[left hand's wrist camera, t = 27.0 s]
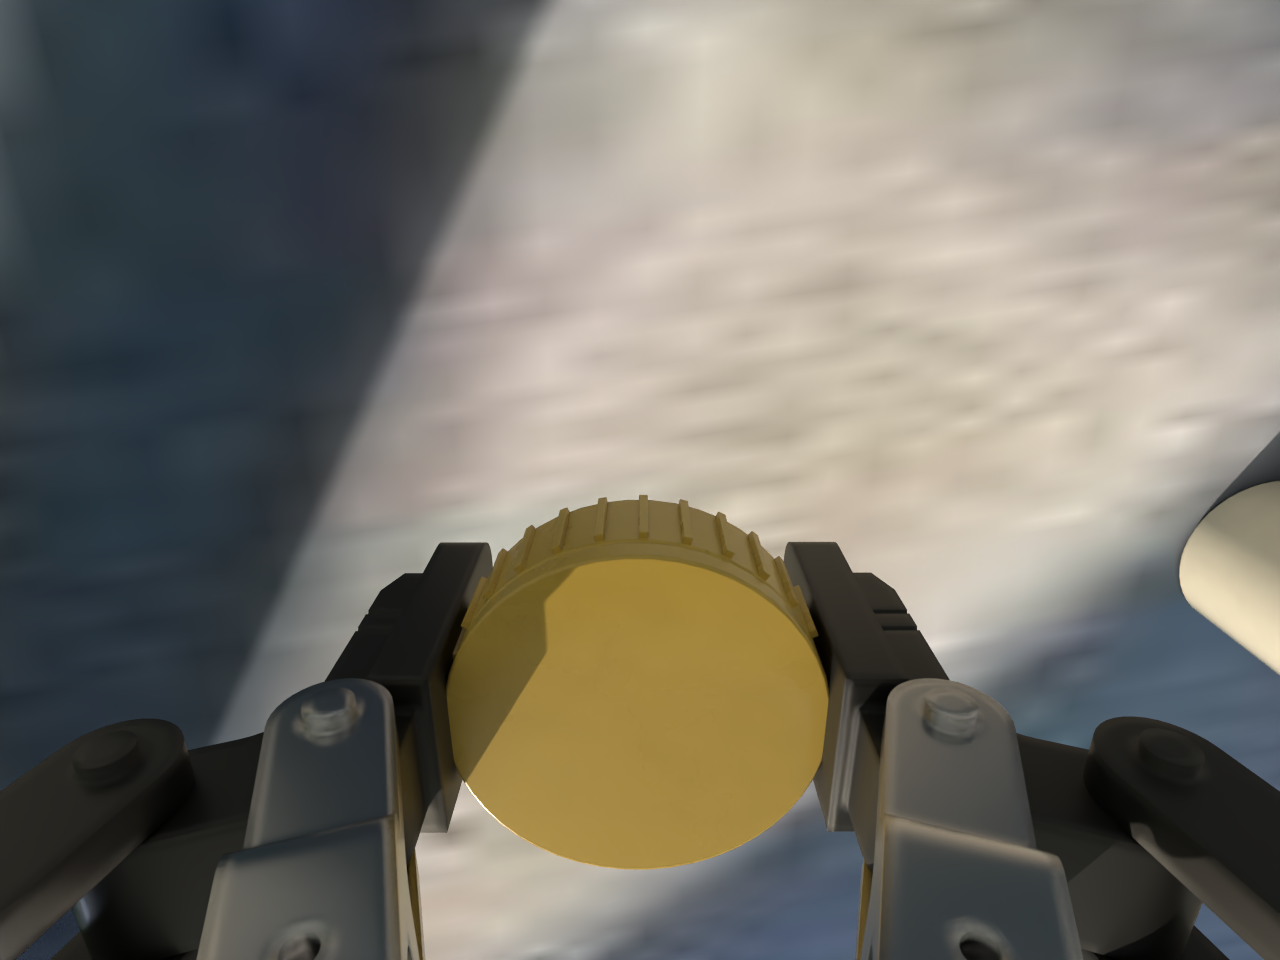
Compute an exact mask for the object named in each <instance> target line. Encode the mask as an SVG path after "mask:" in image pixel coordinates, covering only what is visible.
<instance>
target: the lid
mask: <svg viewBox="0 0 1280 960" xmlns="http://www.w3.org/2000/svg"><path fill="white" fill-rule="evenodd" d="M461 626H462V627H463V629H462V631H461V634H460V636H459V639H458V641H457V644H456V647H455V649H454V652H453V664H452V666H451V669H450V671H449V675H448V679H447V684H446V696H447V706H448V714H449V723H450V731H451V740H452V749H453V757H454V763H455V765H456V768H457V770H458V772H459V774H460V776H461V778H462V779H463V781H464V782H465V784H466V786H467V787H468V789H469V790H470V792H471V793H472V794H473V796H474V797H475V798H476V799H477V800H478V802H479V803H480V804H481V805H482V806H483V808H484V809H485V810H486V811H488V812H489V813H490V814H491V815H492V816H493V817H494V818H495V819H496V820H497V821H498V822H499V823H501V824H502V825H503V826H505V827H506V828H508V829H509V830H510V831H512V832H513V833H514V834H516V835H517V836H519V837H521V838H523V839H524V840H526V841H528V842H530V843H531V844H533V845H535V846H537V847H539V848H541V849H544V850H546V851H548V852H551V853H553V854H555V855H558V856H561V857H564V858H567V859H571V860H574V861H577V862H581V863H586V864H590V865H595V866H600V867H609V868H618V869H657V868H669V867H675V866H680V865H685V864H691V863H695V862H698V861H702V860H705V859H709V858H712V857H715V856H718V855H720V854H722V853H725V852H727V851H730V850H732V849H735V848H737V847H739V846H740V845H742V844H744V843H746V842H748V841H750V840H752V839H753V838H755V837H757V836H758V835H759V834H761V833H762V832H764V831H765V830H767V829H768V828H769V827H771V826H772V825H774V824H775V823H776V822H777V821H778V820H779V819H780V818H781V817H783V816H784V815H785V814H786V813H787V812H788V811H789V810H790V809H791V808H792V807H793V805H794V804H795V803H796V802H797V801H798V800H799V799H800V797H801V796H802V795H803V794H804V792H805V791H806V789H807V787H808V786H809V784H810V783H811V781H812V780H813V778H814V776H815V774H816V772H817V770H818V768H819V766H820V764H821V761H822V753H823V745H824V736H825V728H826V719H827V710H828V700H829V686H828V681H827V676H826V673H825V671H824V668H823V665H822V663H821V660H820V657H819V654H818V652H817V649H816V646H815V643H814V641H813V638H814V637H817V636H818V632H817V630H816V627H815V625H814V622H813V619H812V617H811V614H810V612H809V609H808V606H807V604H806V601H805V598H804V596H803V593H802V591H801V589H800V586H799V585H797V586H795V587H793V586H792V583H791V580H790V578H789V575H788V572H787V569H786V567H785V564H784V561H783V560H782V559H781V557H780V556H778V557H777V558H775V559H774V558H773V557H772V556H771V555H770V554H769V553H768V552H767V551H766V550H765V549H764V548H763V547H762V546H761V544H760V541H759V538H758V535H757V534H755V533H754V532H753V531H751V533H750V534H749V535H747V534H746V533H745V532H743V531H742V530H740V529H739V528H737V527H735V526H734V525H732V524H730V523H728V522H727V520H726V516H725V514H722V513H720V512H718V513H717V515H716V516H714V515H711V514H709V513H706V512H704V511H701V510H699V509H695V508H691V507H689V506H688V501H685V500H680V501H679V504H675V503H669V502H661V501H653V500H648V496H647V495H639V500H623V501H614V502H607V498H606V497H605V498H599V499H598V504H596V505H592V506H588V507H583V508H580V509H577V510H574V511H572V512H569V510H568V508H564V509H562V510H560V513H559V516H558V517H557V518H555V519H553V520H551V521H549V522H547V523H545V524H543V525H541V526H539V527H538V528H536V529H535V527H534V526H533V525H531V526H530V527H528V528H527V529H526V531H525V534H524V537H523V538H522V539H521V540H520V541H519V542H518V543H517V544H515V545H514V546H513V547H512V548H511V549H510V550H509V551H508V552H507V551H506V550H505V549H502V550H501V551H500V552H499V553H498V556H497V558H496V561H495V564H494V566H493V569H492V571H491V573H490V575H489V576H488V578H487V579H486V578H484V577H481V578H480V580H479V582H478V584H477V586H476V589H475V591H474V594H473V596H472V599H471V601H470V604H469V607H468V609H467V612H466V614H465V617H464V619H463V622H462V624H461Z"/></svg>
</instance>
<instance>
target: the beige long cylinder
mask: <svg viewBox="0 0 1280 960" xmlns="http://www.w3.org/2000/svg"><path fill="white" fill-rule="evenodd" d="M1179 578H1180V584H1181V588H1182V591H1183V593H1184V595H1185V597H1186V599H1187V601H1188V602H1189V603H1190V605H1191V606H1192V607H1193V608H1194V609H1195V610H1196V611H1197V612H1198V613H1200V614H1201V615H1202V616H1204V617H1205V618H1206V619H1208V620H1209V621H1210V622H1211V623H1213V624H1214V625H1215V626H1217V627H1218V628H1219V629H1220V630H1222V631H1223V632H1224V633H1226V634H1227V635H1228V636H1229V637H1231V638H1232V639H1233V640H1235V641H1236V642H1237V643H1238V644H1240V645H1241V646H1242V647H1244V648H1245V649H1246V650H1247V651H1249V652H1250V653H1251V654H1253V655H1254V656H1255V657H1256V658H1258V659H1259V660H1260V661H1262V662H1263V663H1264V664H1266V665H1267V666H1268V667H1269V668H1271V669H1272V670H1273V671H1275V672H1276V673H1277V674H1278V675H1280V481H1273V482H1268V483H1263V484H1259V485H1256V486H1253V487H1250V488H1247V489H1245V490H1243V491H1241V492H1238V493H1237V494H1235V495H1233V496H1231V497H1229V498H1228V499H1226V500H1225V501H1223V502H1222V503H1220V504H1219V505H1218V506H1217V507H1215V508H1214V509H1213V510H1212V511H1211V512H1209V513H1208V514H1207V516H1206V517H1205V518H1204V519H1203V520H1202V521H1201V522H1200V523H1199V524H1198V526H1197V527H1196V528H1195V529H1194V531H1193V533H1192V534H1191V536H1190V537H1189V539H1188V541H1187V543H1186V545H1185V547H1184V550H1183V553H1182V556H1181V561H1180V566H1179Z"/></svg>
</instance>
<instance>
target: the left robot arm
mask: <svg viewBox="0 0 1280 960" xmlns="http://www.w3.org/2000/svg"><path fill="white" fill-rule="evenodd" d="M784 564H785V567H786V569H787V572H788V575H789V578H790V580H791V583H792V586H793V587H795V586H797V585H799V586H800V589H801V591H802V593H803V596H804V598H805V601H806V604H807V606H808V609H809V612H810V614H811V617H812V619H813V622H814V625H815V627H816V630H817V632H818V636H817V637H814V638H813V641H814V643H815V646H816V649H817V652H818V654H819V657H820V660H821V663H822V665H823V668H824V671H825V673H826V676H827V681H828V686H829V700H828V710H827V719H826V728H825V736H824V745H823V753H822V761H821V764H820V766H819V768H818V770H817V772H816V774H815V776H814V778H813V781H814V784H815V788H816V791H817V795H818V798H819V802H820V805H821V809H822V812H823V816H824V819H825V823H826V826H827V830H828V831H855V834H856V837H857V840H858V843H859V846H860V849H861V853H862V856H863V858H864V859H863V866H862V873H861V884H860V897H859V910H858V923H857V936H856V949H855V960H1229V959H1228V958H1227V957H1226V956H1225V955H1224V954H1223V953H1222V952H1221V951H1220V950H1219V949H1218V948H1217V947H1216V946H1215V945H1214V944H1213V943H1212V942H1211V941H1210V940H1209V939H1208V938H1206V937H1205V936H1204V935H1203V934H1202V933H1201V932H1200V931H1199V930H1198V929H1197V928H1196V927H1195V926H1194V923H1195V921H1196V918H1197V916H1198V913H1199V910H1200V908H1201V905H1202V903H1204V904H1205V905H1206V906H1207V907H1208V908H1209V909H1210V910H1211V911H1212V912H1214V913H1215V914H1216V915H1217V916H1218V917H1219V918H1220V919H1221V920H1222V921H1223V922H1224V923H1225V924H1226V925H1228V926H1229V927H1230V928H1231V929H1232V930H1233V931H1234V932H1235V933H1236V934H1237V935H1238V936H1239V937H1240V938H1242V939H1243V940H1244V941H1245V942H1246V943H1247V944H1248V945H1249V946H1250V947H1251V948H1252V949H1253V950H1254V951H1256V952H1257V953H1258V954H1259V955H1260V956H1261V957H1262V958H1263V959H1264V960H1280V791H1278V790H1277V789H1275V788H1274V787H1273V786H1271V785H1270V784H1268V783H1267V782H1266V781H1264V780H1263V779H1261V778H1260V777H1259V776H1257V775H1256V774H1254V773H1253V772H1252V771H1250V770H1249V769H1247V768H1246V767H1245V766H1243V765H1242V764H1240V763H1239V762H1238V761H1236V760H1235V759H1234V758H1232V757H1231V756H1229V755H1228V754H1227V753H1225V752H1224V751H1222V750H1221V749H1220V748H1218V747H1217V746H1215V745H1214V744H1212V743H1211V742H1209V741H1207V740H1206V739H1204V738H1202V737H1200V736H1198V735H1196V734H1194V733H1192V732H1190V731H1188V730H1186V729H1183V728H1181V727H1178V726H1175V725H1172V724H1170V723H1166V722H1162V721H1159V720H1154V719H1149V718H1143V717H1117V718H1112V719H1109V720H1106V721H1104V722H1103V723H1101V724H1100V725H1099V726H1098V727H1097V728H1096V730H1095V732H1094V735H1093V738H1092V742H1091V745H1090V749H1089V750H1087V749H1083V748H1078V747H1073V746H1069V745H1064V744H1059V743H1055V742H1050V741H1045V740H1041V739H1036V738H1032V737H1028V736H1024V735H1021V734H1018V733H1016V729H1015V726H1014V722H1013V720H1012V718H1011V717H1010V715H1009V714H1008V712H1007V711H1006V710H1005V709H1004V708H1003V707H1002V706H1001V705H1000V704H999V703H998V702H996V701H995V700H994V699H992V698H991V697H989V696H988V695H986V694H984V693H983V692H981V691H979V690H977V689H974V688H972V687H970V686H967V685H964V684H961V683H958V682H954V681H950V680H949V678H948V676H947V675H946V673H945V672H944V670H943V668H942V667H941V665H940V663H939V662H938V660H937V658H936V657H935V655H934V653H933V652H932V650H931V649H930V647H929V645H928V644H927V642H926V640H925V639H924V637H923V635H922V634H921V632H920V630H917V626H916V624H915V622H914V621H913V619H912V617H911V616H910V614H907V609H906V607H905V606H904V604H903V603H902V601H901V599H900V598H899V596H898V594H897V593H896V591H895V590H894V589H893V588H892V587H890V586H889V585H887V584H886V583H885V582H883V581H882V580H880V579H879V578H878V577H876V576H875V575H873V574H872V573H853V572H852V571H851V569H850V567H849V565H848V563H847V561H846V559H845V557H844V555H843V554H842V552H841V550H840V548H839V546H838V544H837V543H836V542H788V544H787V546H786V549H785V555H784ZM492 569H493V565H492V555H491V549H490V546H489V544H488V543H440V544H439V545H438V546H437V548H436V550H435V552H434V554H433V556H432V557H431V559H430V561H429V563H428V565H427V567H426V569H425V570H424V572H423V573H405V574H403V575H402V576H400V577H399V578H398V579H396V580H395V581H393V582H392V583H391V584H389V585H388V586H386V587H385V588H384V589H382V590H381V591H380V593H379V594H378V596H377V598H376V599H375V601H374V602H373V604H372V606H371V607H370V609H369V613H368V614H366V615H365V617H364V619H363V620H362V622H361V623H360V625H359V627H358V631H355V633H354V635H353V636H352V638H351V640H350V641H349V643H348V644H347V646H346V648H345V649H344V651H343V653H342V654H341V656H340V657H339V659H338V661H337V662H336V664H335V665H334V667H333V669H332V670H331V672H330V674H329V675H328V677H327V678H326V680H325V682H322V683H319V684H316V685H313V686H310V687H308V688H306V689H303V690H301V691H299V692H297V693H296V694H294V695H292V696H291V697H289V698H288V699H286V700H285V701H284V702H282V703H281V704H280V705H279V706H278V707H277V708H276V709H275V710H274V711H273V712H272V714H271V715H270V717H269V718H268V720H267V722H266V726H265V729H264V732H262V733H259V734H257V735H254V736H250V737H247V738H243V739H239V740H234V741H229V742H225V743H220V744H215V745H211V746H206V747H201V748H197V749H192V750H187V747H186V743H185V740H184V736H183V734H182V731H181V730H180V729H179V728H178V727H177V726H176V725H174V724H173V723H171V722H168V721H165V720H159V719H136V720H129V721H124V722H119V723H115V724H112V725H108V726H105V727H102V728H100V729H97V730H94V731H92V732H90V733H87V734H85V735H83V736H81V737H79V738H77V739H75V740H74V741H72V742H70V743H68V744H67V745H65V746H64V747H62V748H61V749H59V750H58V751H56V752H55V753H53V754H52V755H51V756H49V757H48V758H46V759H45V760H44V761H42V762H41V763H39V764H38V765H37V766H35V767H34V768H33V769H31V770H30V771H28V772H27V773H26V774H24V775H23V776H21V777H20V778H19V779H17V780H16V781H14V782H13V783H12V784H10V785H9V786H7V787H6V788H5V789H3V790H2V791H0V960H16V959H17V958H18V957H19V956H20V955H21V954H22V953H23V952H24V951H25V950H27V949H28V948H29V947H30V946H31V945H32V944H33V943H34V942H35V941H36V940H37V939H38V938H40V937H41V936H42V935H43V934H44V933H45V932H46V931H47V930H48V929H49V928H50V927H51V926H52V925H54V924H55V923H56V922H57V921H58V920H59V919H60V918H61V917H62V916H63V915H64V914H65V913H66V912H68V911H69V910H70V909H71V908H72V911H73V914H74V916H75V919H76V921H77V924H78V926H79V929H80V932H79V933H78V934H77V935H76V936H75V937H73V938H72V939H71V940H70V941H69V942H68V943H67V944H66V945H65V946H64V947H63V948H62V949H61V950H60V951H59V952H58V953H57V954H56V955H55V956H54V957H53V958H52V959H51V960H425V949H424V936H423V923H422V910H421V897H420V884H419V873H418V866H417V859H416V853H415V846H416V843H417V840H418V837H419V834H420V833H447V831H448V827H449V824H450V821H451V817H452V814H453V810H454V807H455V803H456V800H457V797H458V793H459V790H460V786H461V783H462V778H461V776H460V774H459V772H458V770H457V768H456V765H455V763H454V757H453V749H452V740H451V731H450V723H449V714H448V706H447V696H446V684H447V679H448V675H449V671H450V669H451V666H452V664H453V652H454V649H455V647H456V644H457V641H458V639H459V636H460V634H461V631H462V629H463V627H462V626H461V624H462V622H463V619H464V617H465V614H466V612H467V609H468V607H469V604H470V601H471V599H472V596H473V594H474V591H475V589H476V586H477V584H478V582H479V580H480V578H481V577H484V578H486V579H487V578H488V576H489V575H490V573H491V571H492Z"/></svg>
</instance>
